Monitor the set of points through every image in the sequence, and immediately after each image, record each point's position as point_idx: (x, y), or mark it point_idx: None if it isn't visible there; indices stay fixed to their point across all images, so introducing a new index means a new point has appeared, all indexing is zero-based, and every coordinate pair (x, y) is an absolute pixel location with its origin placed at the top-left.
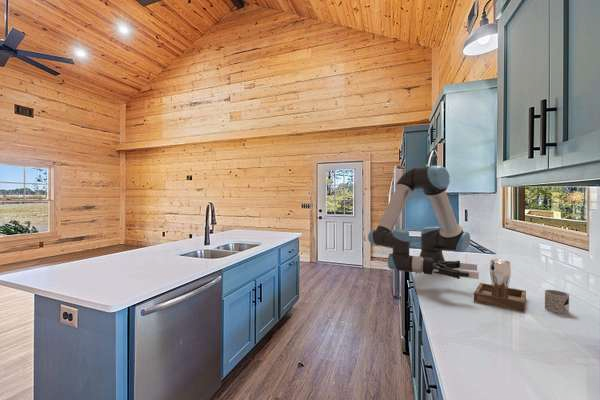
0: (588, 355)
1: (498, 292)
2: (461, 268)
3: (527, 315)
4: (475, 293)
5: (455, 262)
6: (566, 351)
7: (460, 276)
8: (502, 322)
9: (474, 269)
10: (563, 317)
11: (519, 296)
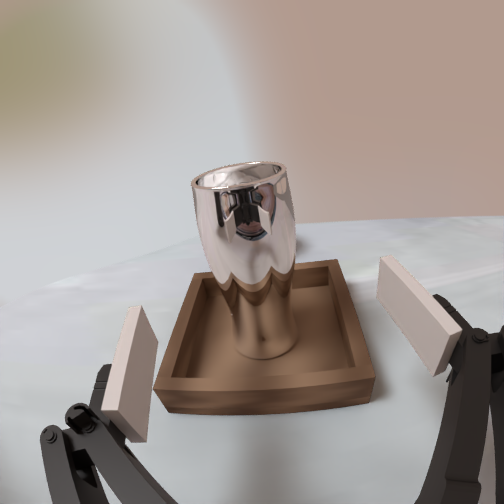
0: (448, 219)
1: (292, 311)
2: (145, 429)
3: (358, 277)
4: (372, 372)
5: (95, 453)
6: (465, 229)
7: (444, 364)
8: (466, 294)
9: (153, 348)
10: (302, 244)
11: (206, 301)
